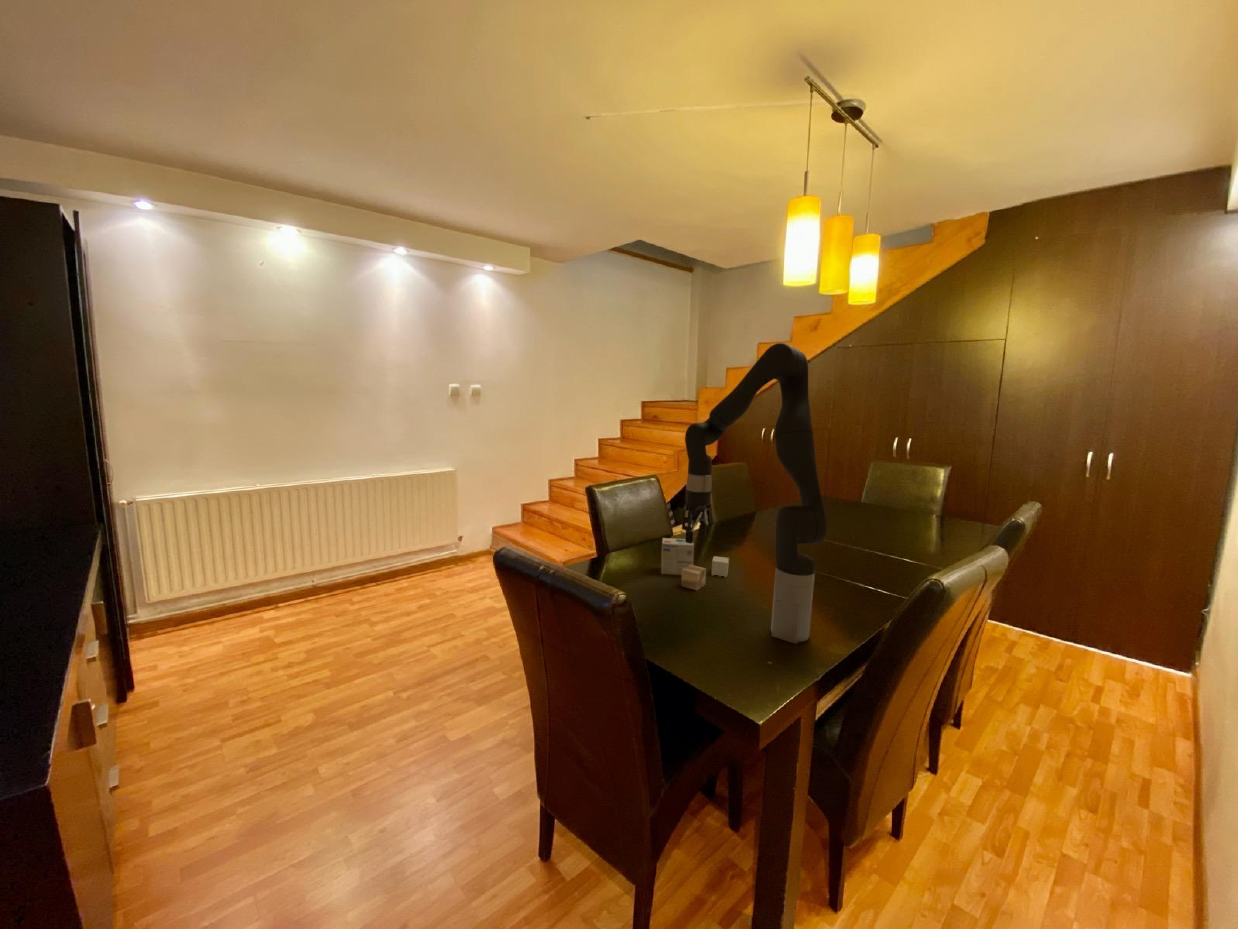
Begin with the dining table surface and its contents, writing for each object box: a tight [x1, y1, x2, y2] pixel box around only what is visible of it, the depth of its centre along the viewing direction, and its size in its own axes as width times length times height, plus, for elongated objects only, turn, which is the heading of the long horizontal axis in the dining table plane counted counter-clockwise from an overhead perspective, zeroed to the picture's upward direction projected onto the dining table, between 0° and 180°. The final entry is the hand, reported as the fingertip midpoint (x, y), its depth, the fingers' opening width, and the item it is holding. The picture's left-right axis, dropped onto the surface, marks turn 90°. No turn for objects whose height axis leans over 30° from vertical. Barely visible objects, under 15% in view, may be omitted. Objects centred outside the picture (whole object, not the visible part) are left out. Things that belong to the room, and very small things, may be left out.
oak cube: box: [680, 564, 707, 591], centre depth 155 cm, size 6×6×6 cm
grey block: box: [711, 555, 730, 578], centre depth 166 cm, size 5×5×5 cm
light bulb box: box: [660, 537, 695, 576], centre depth 166 cm, size 11×7×11 cm, turn 84°
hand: (695, 539), depth 154 cm, fingers open, 8 cm apart
